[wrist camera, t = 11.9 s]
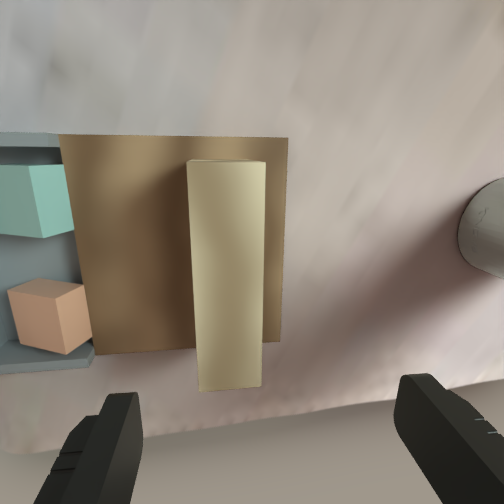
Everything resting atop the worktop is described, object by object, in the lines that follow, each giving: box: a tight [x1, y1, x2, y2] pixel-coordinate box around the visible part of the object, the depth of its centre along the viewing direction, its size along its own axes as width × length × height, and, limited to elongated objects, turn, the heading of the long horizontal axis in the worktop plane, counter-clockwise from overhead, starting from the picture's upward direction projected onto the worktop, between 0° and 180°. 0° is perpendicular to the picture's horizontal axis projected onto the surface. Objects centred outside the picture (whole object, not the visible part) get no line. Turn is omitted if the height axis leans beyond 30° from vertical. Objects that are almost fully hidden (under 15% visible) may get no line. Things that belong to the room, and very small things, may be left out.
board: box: [58, 134, 288, 355], centre depth 25 cm, size 16×17×2 cm
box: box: [0, 132, 95, 374], centre depth 23 cm, size 8×17×4 cm, turn 0°
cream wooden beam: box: [186, 159, 266, 392], centre depth 21 cm, size 4×14×7 cm, turn 0°
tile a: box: [0, 163, 74, 238], centre depth 21 cm, size 4×4×2 cm
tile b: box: [7, 278, 93, 355], centre depth 24 cm, size 4×4×2 cm
